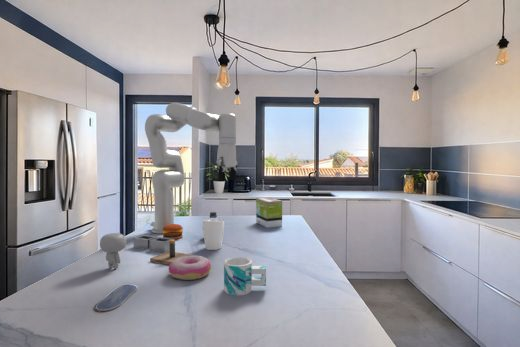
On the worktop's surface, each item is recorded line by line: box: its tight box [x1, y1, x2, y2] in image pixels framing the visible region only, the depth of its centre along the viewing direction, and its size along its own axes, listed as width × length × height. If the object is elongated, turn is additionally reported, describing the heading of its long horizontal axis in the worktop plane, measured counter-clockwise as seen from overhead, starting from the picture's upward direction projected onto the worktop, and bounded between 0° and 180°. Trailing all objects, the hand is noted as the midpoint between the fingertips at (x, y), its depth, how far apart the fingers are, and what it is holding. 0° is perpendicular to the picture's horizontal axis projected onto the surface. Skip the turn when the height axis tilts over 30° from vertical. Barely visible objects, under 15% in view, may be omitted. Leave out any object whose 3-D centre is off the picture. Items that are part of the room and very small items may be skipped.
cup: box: [202, 217, 225, 251], centre depth 135 cm, size 9×9×12 cm
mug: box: [223, 256, 267, 296], centre depth 93 cm, size 8×12×8 cm
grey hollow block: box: [133, 234, 159, 251], centre depth 137 cm, size 8×6×4 cm
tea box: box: [255, 197, 283, 229], centre depth 183 cm, size 15×10×15 cm, turn 25°
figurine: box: [99, 232, 127, 270], centre depth 110 cm, size 8×8×12 cm
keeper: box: [149, 240, 195, 266], centre depth 119 cm, size 12×10×7 cm
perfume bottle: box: [209, 211, 218, 218], centre depth 153 cm, size 6×6×12 cm
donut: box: [168, 255, 212, 281], centre depth 105 cm, size 14×13×5 cm
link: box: [149, 236, 176, 253], centre depth 133 cm, size 8×6×4 cm
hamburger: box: [162, 223, 184, 241], centre depth 152 cm, size 9×10×7 cm
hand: (227, 180), depth 143 cm, fingers open, 9 cm apart
